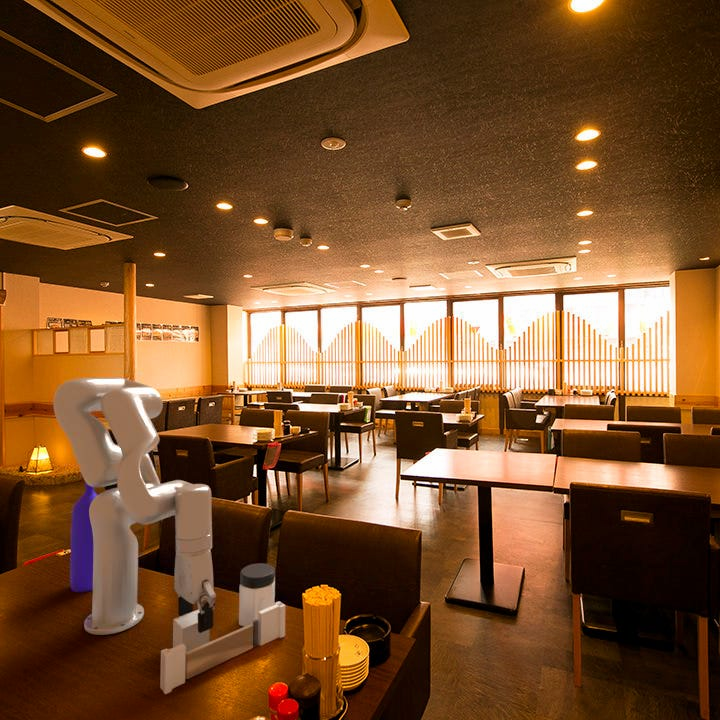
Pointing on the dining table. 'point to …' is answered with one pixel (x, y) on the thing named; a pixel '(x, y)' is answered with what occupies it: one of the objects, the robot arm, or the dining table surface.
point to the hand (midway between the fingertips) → (195, 621)
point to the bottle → (82, 543)
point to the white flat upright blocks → (174, 658)
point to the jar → (255, 591)
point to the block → (189, 632)
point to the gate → (221, 649)
